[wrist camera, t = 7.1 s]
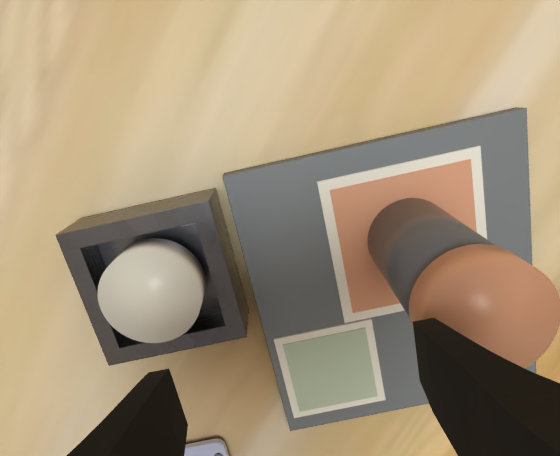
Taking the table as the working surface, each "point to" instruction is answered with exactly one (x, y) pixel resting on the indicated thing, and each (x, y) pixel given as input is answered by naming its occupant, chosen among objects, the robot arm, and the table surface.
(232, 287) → the button housing
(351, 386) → the picture board
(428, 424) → the table surface
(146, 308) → the button
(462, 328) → the grey canister
